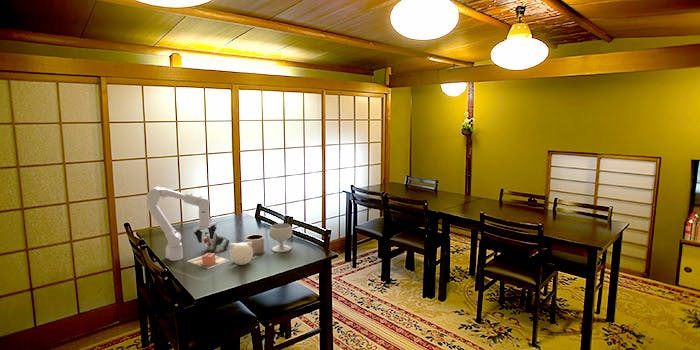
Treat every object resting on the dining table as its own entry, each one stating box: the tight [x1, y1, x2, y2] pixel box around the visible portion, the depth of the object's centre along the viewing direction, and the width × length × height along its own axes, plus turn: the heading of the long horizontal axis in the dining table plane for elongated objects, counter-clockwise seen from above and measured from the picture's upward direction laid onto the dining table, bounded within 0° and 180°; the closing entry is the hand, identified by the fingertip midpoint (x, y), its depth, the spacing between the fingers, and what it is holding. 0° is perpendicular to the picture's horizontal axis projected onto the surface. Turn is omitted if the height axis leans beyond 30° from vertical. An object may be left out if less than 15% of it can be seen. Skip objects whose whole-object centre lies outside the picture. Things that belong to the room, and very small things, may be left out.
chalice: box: [268, 222, 293, 253], centre depth 234 cm, size 14×14×15 cm
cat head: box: [228, 242, 254, 266], centre depth 211 cm, size 15×13×12 cm
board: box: [187, 251, 231, 270], centre depth 214 cm, size 19×14×4 cm
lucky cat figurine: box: [202, 231, 230, 253], centre depth 232 cm, size 15×12×14 cm
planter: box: [245, 233, 265, 255], centre depth 230 cm, size 11×11×10 cm
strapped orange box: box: [201, 252, 216, 265], centre depth 209 cm, size 5×5×5 cm
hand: (205, 240), depth 222 cm, fingers open, 7 cm apart
